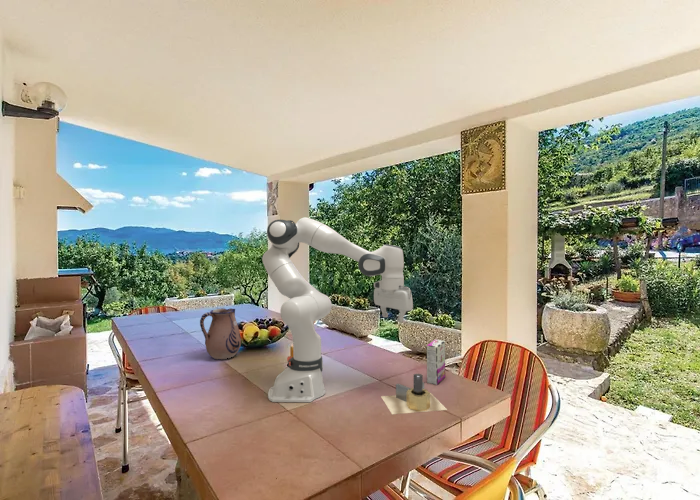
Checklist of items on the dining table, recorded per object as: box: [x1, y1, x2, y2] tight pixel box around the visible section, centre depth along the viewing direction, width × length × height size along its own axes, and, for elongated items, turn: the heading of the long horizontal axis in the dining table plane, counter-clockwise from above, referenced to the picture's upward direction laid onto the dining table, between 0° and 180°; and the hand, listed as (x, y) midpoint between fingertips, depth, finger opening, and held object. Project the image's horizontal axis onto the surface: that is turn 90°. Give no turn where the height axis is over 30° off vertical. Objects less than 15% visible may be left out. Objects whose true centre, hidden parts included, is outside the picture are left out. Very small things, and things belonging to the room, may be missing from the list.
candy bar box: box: [426, 339, 446, 386], centre depth 160 cm, size 11×5×16 cm, turn 148°
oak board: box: [380, 392, 448, 415], centre depth 133 cm, size 20×15×2 cm
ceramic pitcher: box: [199, 307, 242, 360], centre depth 191 cm, size 18×21×25 cm
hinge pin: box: [412, 373, 424, 395], centre depth 130 cm, size 3×3×11 cm
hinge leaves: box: [395, 381, 431, 411], centre depth 133 cm, size 11×13×5 cm
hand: (392, 319), depth 148 cm, fingers open, 8 cm apart
